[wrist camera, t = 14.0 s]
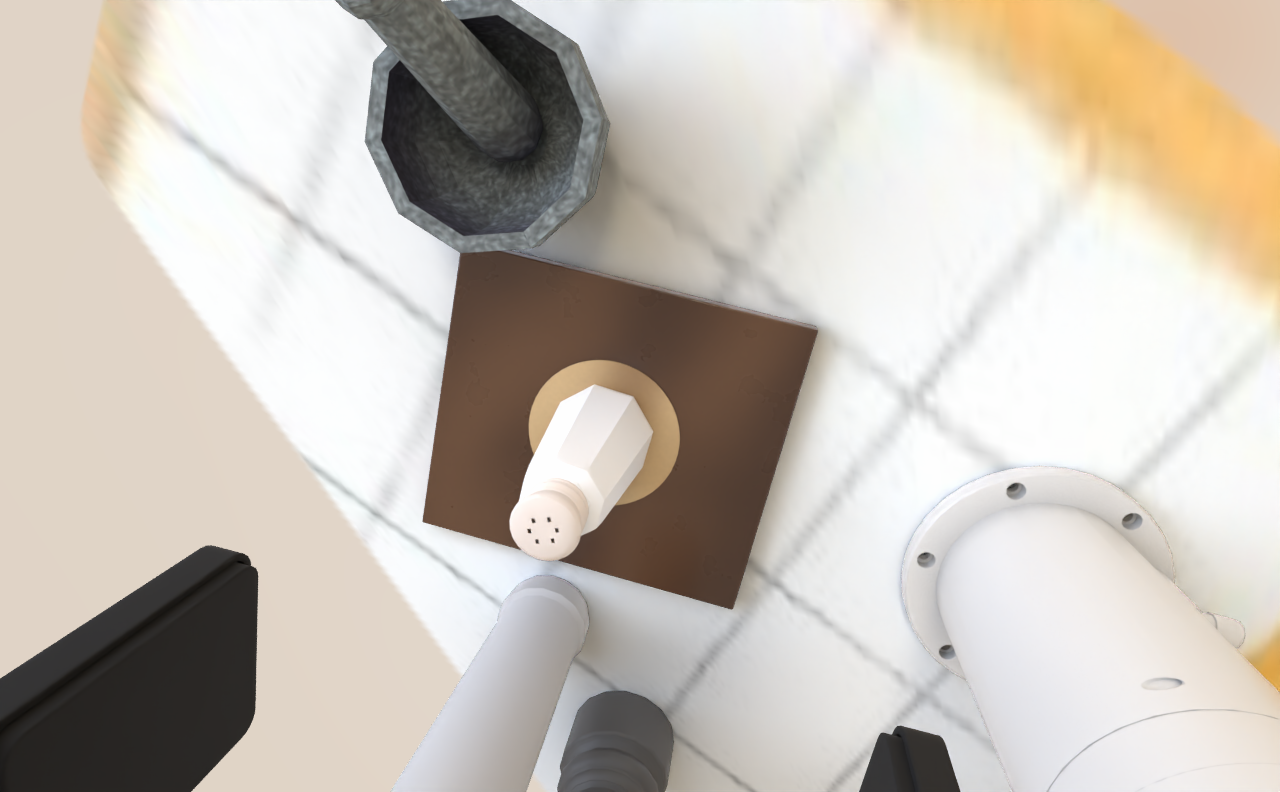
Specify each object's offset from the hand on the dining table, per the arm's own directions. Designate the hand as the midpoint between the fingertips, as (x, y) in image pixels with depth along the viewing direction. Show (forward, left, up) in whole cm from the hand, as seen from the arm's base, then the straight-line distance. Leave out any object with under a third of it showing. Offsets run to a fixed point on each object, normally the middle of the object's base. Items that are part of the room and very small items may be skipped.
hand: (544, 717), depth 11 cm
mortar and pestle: (+11, -8, -28) cm, 31 cm away
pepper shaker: (+4, +6, -27) cm, 28 cm away
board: (+3, +6, -28) cm, 29 cm away
